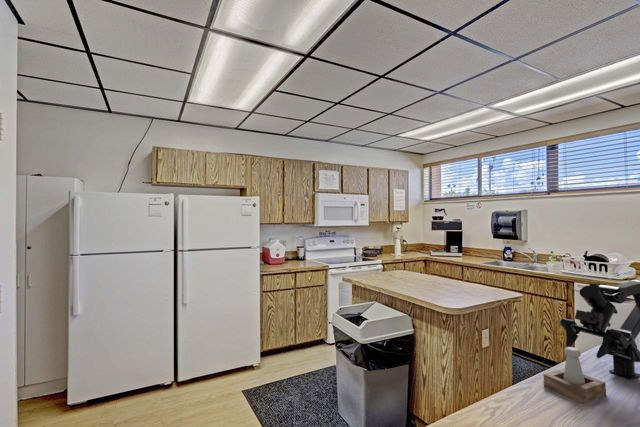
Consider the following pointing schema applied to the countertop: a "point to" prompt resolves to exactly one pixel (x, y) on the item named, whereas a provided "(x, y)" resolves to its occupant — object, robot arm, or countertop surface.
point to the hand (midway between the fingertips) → (582, 352)
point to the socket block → (575, 386)
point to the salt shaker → (573, 367)
